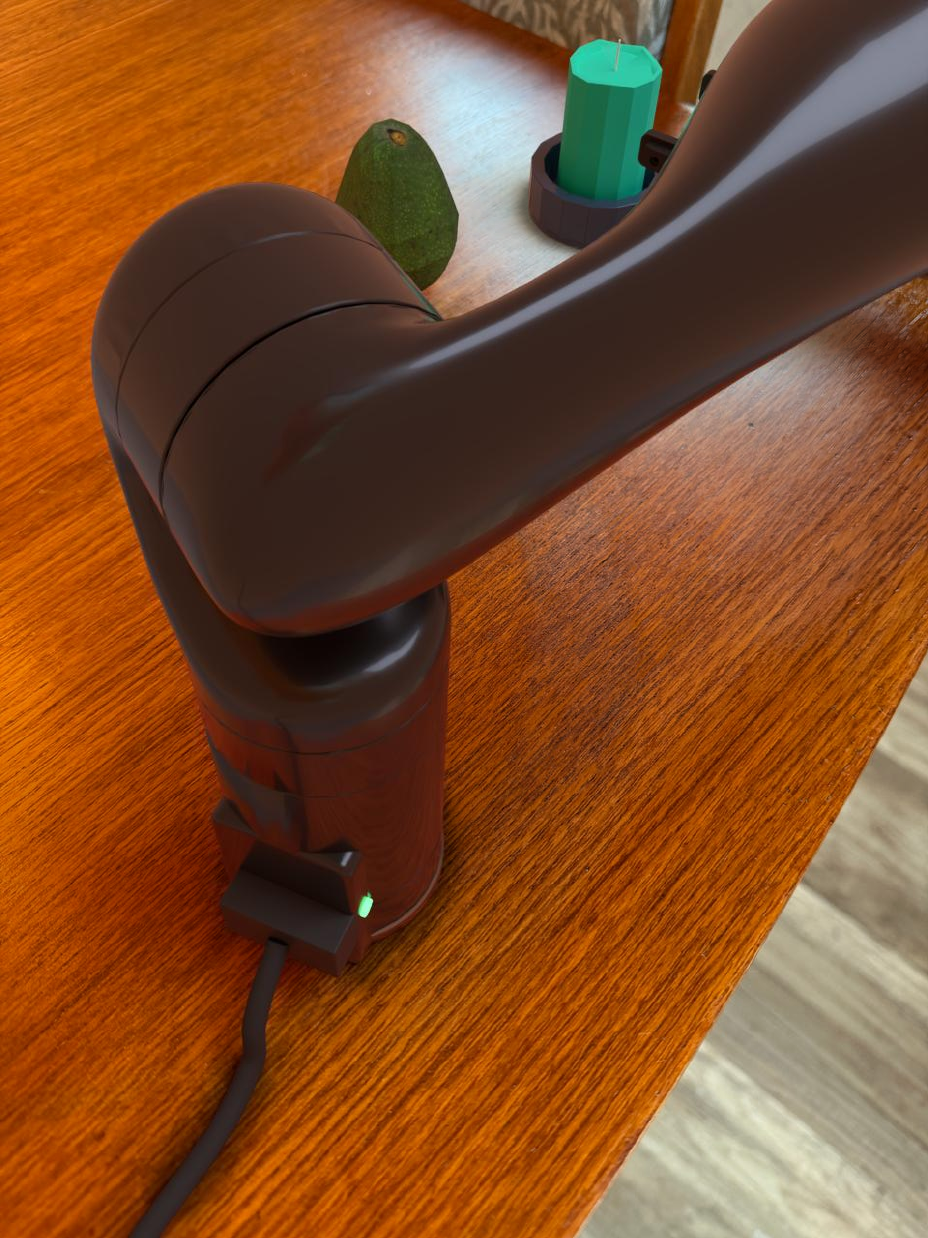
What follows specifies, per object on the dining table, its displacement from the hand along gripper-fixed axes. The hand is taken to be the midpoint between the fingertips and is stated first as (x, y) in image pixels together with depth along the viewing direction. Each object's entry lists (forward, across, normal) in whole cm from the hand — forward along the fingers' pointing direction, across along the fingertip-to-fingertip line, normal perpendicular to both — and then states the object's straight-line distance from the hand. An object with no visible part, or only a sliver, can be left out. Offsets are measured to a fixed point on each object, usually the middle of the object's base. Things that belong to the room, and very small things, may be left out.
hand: (672, 114), depth 77 cm
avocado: (+11, +15, +9) cm, 21 cm away
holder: (+5, 0, +9) cm, 10 cm away
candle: (+4, 0, +9) cm, 10 cm away
